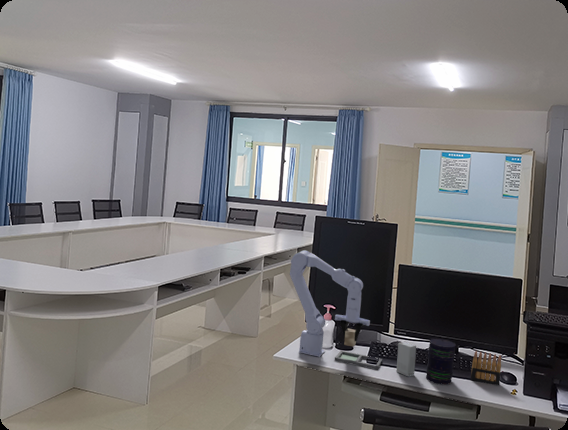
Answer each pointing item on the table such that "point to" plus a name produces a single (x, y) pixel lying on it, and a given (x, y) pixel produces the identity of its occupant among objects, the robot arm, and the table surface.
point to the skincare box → (406, 358)
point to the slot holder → (355, 359)
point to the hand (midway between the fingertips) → (350, 339)
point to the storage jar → (440, 361)
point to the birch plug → (350, 337)
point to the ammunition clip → (486, 369)
